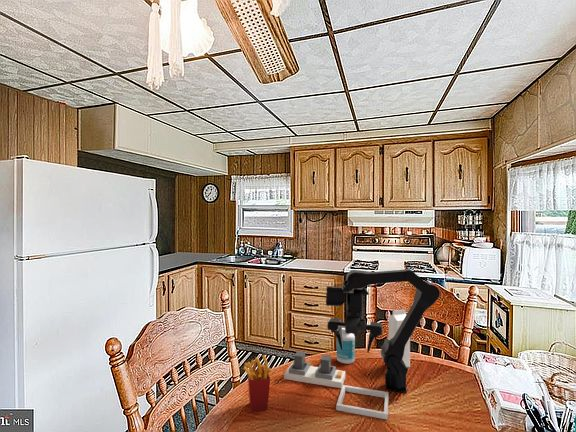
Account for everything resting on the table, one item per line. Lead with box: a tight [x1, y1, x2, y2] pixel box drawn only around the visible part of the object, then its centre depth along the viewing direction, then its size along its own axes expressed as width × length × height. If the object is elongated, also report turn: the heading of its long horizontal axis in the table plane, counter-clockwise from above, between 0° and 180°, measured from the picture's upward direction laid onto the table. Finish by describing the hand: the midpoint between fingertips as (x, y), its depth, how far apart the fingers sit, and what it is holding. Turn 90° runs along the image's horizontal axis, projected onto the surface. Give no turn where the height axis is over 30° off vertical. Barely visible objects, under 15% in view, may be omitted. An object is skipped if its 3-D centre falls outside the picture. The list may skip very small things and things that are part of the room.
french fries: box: [243, 354, 272, 413], centre depth 103 cm, size 9×8×15 cm
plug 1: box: [293, 350, 306, 370], centre depth 123 cm, size 3×4×6 cm, turn 162°
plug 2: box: [320, 354, 332, 374], centre depth 120 cm, size 3×4×6 cm, turn 162°
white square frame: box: [335, 384, 389, 420], centre depth 104 cm, size 15×13×2 cm
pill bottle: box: [336, 328, 356, 365], centre depth 136 cm, size 8×7×14 cm
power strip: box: [283, 361, 346, 389], centre depth 121 cm, size 21×9×4 cm, turn 72°
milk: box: [388, 309, 411, 368], centre depth 132 cm, size 6×6×22 cm
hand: (354, 350), depth 116 cm, fingers open, 9 cm apart
